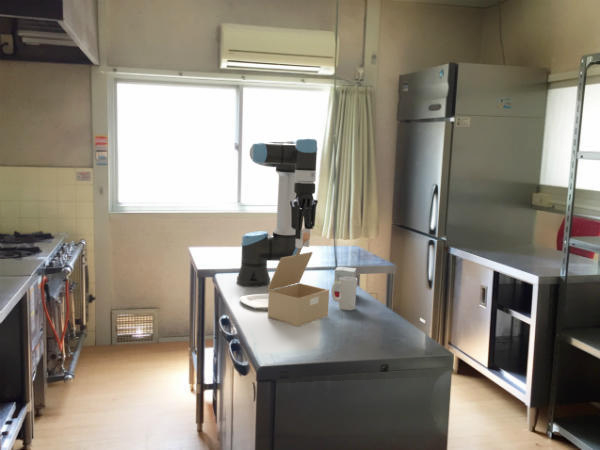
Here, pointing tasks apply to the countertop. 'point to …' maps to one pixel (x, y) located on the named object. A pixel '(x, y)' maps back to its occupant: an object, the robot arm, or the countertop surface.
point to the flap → (290, 268)
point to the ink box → (343, 273)
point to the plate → (256, 300)
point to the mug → (346, 293)
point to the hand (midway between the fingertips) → (302, 246)
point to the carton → (298, 304)
